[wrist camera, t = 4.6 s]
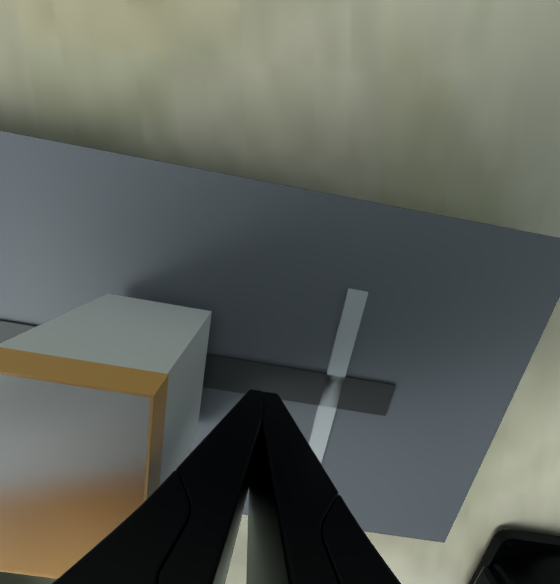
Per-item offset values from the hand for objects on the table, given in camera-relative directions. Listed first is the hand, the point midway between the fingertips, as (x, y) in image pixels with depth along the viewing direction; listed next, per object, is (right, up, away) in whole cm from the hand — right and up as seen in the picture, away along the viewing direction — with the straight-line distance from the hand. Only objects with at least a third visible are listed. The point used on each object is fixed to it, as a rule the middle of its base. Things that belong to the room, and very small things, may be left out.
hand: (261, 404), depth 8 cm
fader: (-3, +1, +1) cm, 4 cm away
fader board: (-3, +1, +4) cm, 5 cm away
